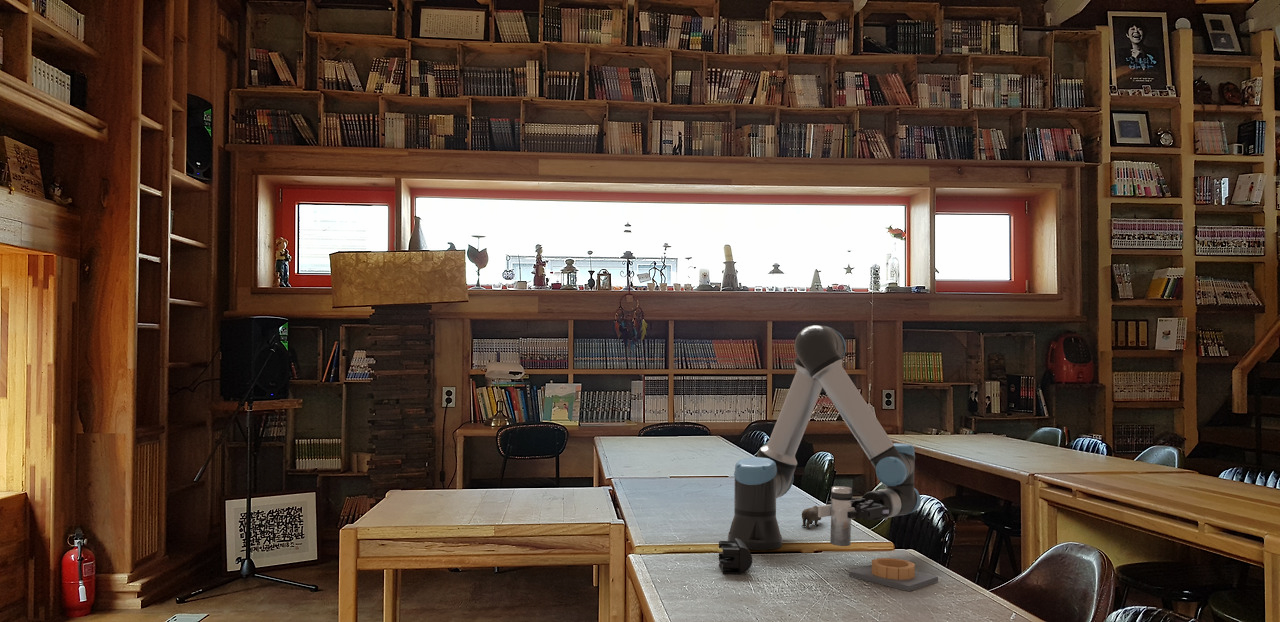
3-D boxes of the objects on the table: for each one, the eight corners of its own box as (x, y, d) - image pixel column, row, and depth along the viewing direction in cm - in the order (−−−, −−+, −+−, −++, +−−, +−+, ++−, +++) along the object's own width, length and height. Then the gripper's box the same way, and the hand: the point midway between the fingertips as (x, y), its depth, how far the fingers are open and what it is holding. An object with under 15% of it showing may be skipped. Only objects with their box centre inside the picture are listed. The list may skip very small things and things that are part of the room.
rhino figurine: (828, 522, 259) (828, 503, 259) (810, 529, 248) (811, 510, 248) (816, 521, 261) (816, 502, 262) (798, 528, 250) (798, 508, 250)
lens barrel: (825, 542, 205) (827, 487, 206) (837, 540, 209) (839, 485, 209) (843, 547, 201) (844, 490, 202) (855, 544, 205) (856, 488, 205)
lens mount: (848, 576, 195) (848, 560, 195) (878, 567, 204) (878, 552, 204) (909, 591, 183) (909, 574, 183) (938, 581, 192) (938, 565, 192)
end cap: (752, 575, 194) (752, 547, 195) (723, 575, 194) (723, 546, 195) (746, 565, 204) (746, 538, 205) (718, 564, 204) (718, 537, 205)
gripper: (910, 524, 210) (859, 536, 195) (851, 512, 224) (799, 522, 208) (911, 495, 211) (860, 504, 195) (851, 485, 224) (799, 493, 209)
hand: (828, 513), depth 202 cm, fingers closed on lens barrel, 5 cm apart
